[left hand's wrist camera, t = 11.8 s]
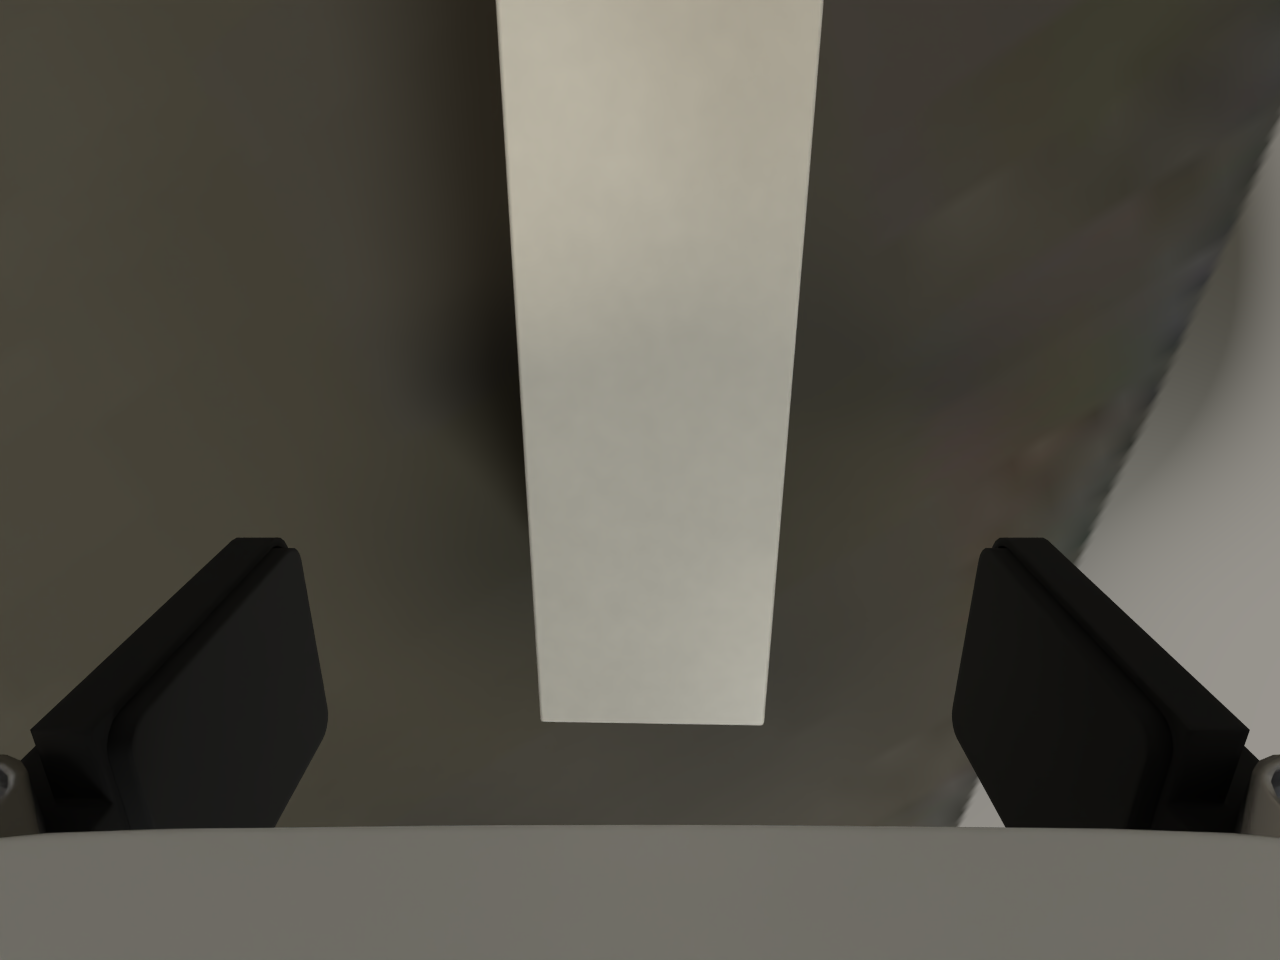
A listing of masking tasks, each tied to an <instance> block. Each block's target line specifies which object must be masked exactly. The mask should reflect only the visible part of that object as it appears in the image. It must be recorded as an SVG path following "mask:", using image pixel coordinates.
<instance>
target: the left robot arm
mask: <svg viewBox="0 0 1280 960" xmlns="http://www.w3.org/2000/svg"><path fill="white" fill-rule="evenodd" d="M327 722H328V709H327V703H326V697H325V691H324V686H323V680H322V675H321V669H320V663H319V658H318V652H317V646H316V641H315V635H314V629H313V624H312V618H311V613H310V607H309V601H308V596H307V590H306V584H305V579H304V573H303V567H302V562H301V558H300V554H299V552H298V551H297V550H296V549H295V548H288V547H287V545H286V543H285V541H284V540H282V539H281V538H236V539H234V540H232V541H231V542H230V543H229V544H228V545H227V546H226V547H225V548H224V549H222V550H221V551H220V552H219V553H218V554H217V555H216V556H215V557H214V558H213V559H212V560H211V561H210V562H209V563H208V564H206V565H205V566H204V567H203V568H202V569H201V570H200V571H199V572H198V573H197V574H196V575H195V576H194V577H193V578H192V579H191V580H189V581H188V582H187V583H186V584H185V585H184V586H183V587H182V588H181V589H180V590H179V591H178V592H177V593H176V594H175V595H173V596H172V597H171V598H170V599H169V600H168V601H167V602H166V603H165V604H164V605H163V606H162V607H161V608H160V609H159V610H157V611H156V612H155V613H154V614H153V615H152V616H151V617H150V618H149V619H148V620H147V621H146V622H145V623H144V624H143V625H141V626H140V627H139V628H138V629H137V630H136V631H135V632H134V633H133V634H132V635H131V636H130V637H129V638H128V639H127V640H126V641H124V642H123V643H122V644H121V645H120V646H119V647H118V648H117V649H116V650H115V651H114V652H113V653H112V654H111V655H110V656H108V657H107V658H106V659H105V660H104V661H103V662H102V663H101V664H100V665H99V666H98V667H97V668H96V669H95V670H94V671H92V672H91V673H90V674H89V675H88V676H87V677H86V678H85V679H84V680H83V681H82V682H81V683H80V684H79V685H78V686H76V687H75V688H74V689H73V690H72V691H71V692H70V693H69V694H68V695H67V696H66V697H65V698H64V699H63V700H62V701H61V702H59V703H58V704H57V705H56V706H55V707H54V708H53V709H52V710H51V711H50V712H49V713H48V714H47V715H46V716H45V717H43V718H42V719H41V720H40V721H39V722H38V723H37V724H36V725H35V726H34V727H33V728H32V729H31V730H30V731H31V733H32V736H33V739H34V742H35V745H36V746H35V747H34V748H33V749H32V750H31V751H30V752H29V753H28V754H27V755H26V756H25V757H24V758H23V759H22V760H21V761H20V760H18V759H15V758H13V757H11V756H8V755H0V960H1280V755H1272V756H1269V757H1267V758H1265V759H1262V760H1260V761H1259V760H1258V759H1257V758H1256V757H1255V756H1254V755H1253V754H1252V753H1251V752H1250V751H1249V750H1248V749H1247V748H1246V747H1245V746H1244V745H1245V742H1246V739H1247V736H1248V733H1249V729H1248V728H1247V727H1246V726H1245V725H1244V724H1243V723H1242V722H1241V721H1240V720H1239V719H1238V718H1237V717H1235V716H1234V715H1233V714H1232V713H1231V712H1230V711H1229V710H1228V709H1227V708H1226V707H1225V706H1224V705H1223V704H1222V703H1221V702H1219V701H1218V700H1217V699H1216V698H1215V697H1214V696H1213V695H1212V694H1211V693H1210V692H1209V691H1208V690H1207V689H1206V688H1205V687H1204V686H1202V685H1201V684H1200V683H1199V682H1198V681H1197V680H1196V679H1195V678H1194V677H1193V676H1192V675H1191V674H1190V673H1189V672H1187V671H1186V670H1185V669H1184V668H1183V667H1182V666H1181V665H1180V664H1179V663H1178V662H1177V661H1176V660H1175V659H1174V658H1173V657H1172V656H1170V655H1169V654H1168V653H1167V652H1166V651H1165V650H1164V649H1163V648H1162V647H1161V646H1160V645H1159V644H1158V643H1157V642H1156V641H1154V640H1153V639H1152V638H1151V637H1150V636H1149V635H1148V634H1147V633H1146V632H1145V631H1144V630H1143V629H1142V628H1141V627H1140V626H1139V625H1137V624H1136V623H1135V622H1134V621H1133V620H1132V619H1131V618H1130V617H1129V616H1128V615H1127V614H1126V613H1125V612H1124V611H1122V610H1121V609H1120V608H1119V607H1118V606H1117V605H1116V604H1115V603H1114V602H1113V601H1112V600H1111V599H1110V598H1109V597H1108V596H1107V595H1105V594H1104V593H1103V592H1102V591H1101V590H1100V589H1099V588H1098V587H1097V586H1096V585H1095V584H1094V583H1093V582H1092V581H1091V580H1089V579H1088V578H1087V577H1086V576H1085V575H1084V574H1083V573H1082V572H1081V571H1080V570H1079V569H1078V568H1077V567H1076V566H1075V565H1073V564H1072V563H1071V562H1070V561H1069V560H1068V559H1067V558H1066V557H1065V556H1064V555H1063V554H1062V553H1061V552H1060V551H1059V550H1058V549H1056V548H1055V547H1054V546H1053V545H1052V544H1051V543H1050V542H1049V541H1048V540H1046V539H1044V538H999V539H998V540H996V541H995V543H994V545H993V547H992V548H985V549H984V550H983V551H982V552H981V554H980V558H979V562H978V567H977V573H976V579H975V584H974V590H973V596H972V601H971V607H970V612H969V618H968V624H967V629H966V635H965V641H964V646H963V652H962V658H961V663H960V669H959V675H958V680H957V686H956V691H955V697H954V703H953V709H952V722H953V728H954V732H955V735H956V737H957V739H958V741H959V743H960V745H961V747H962V748H963V750H964V752H965V754H966V756H967V758H968V759H969V761H970V763H971V765H972V767H973V769H974V770H975V772H976V774H977V776H978V778H979V780H980V781H981V783H982V785H983V787H984V789H985V790H986V792H987V794H988V796H989V798H990V800H991V802H992V803H993V805H994V807H995V809H996V811H997V813H998V814H999V816H1000V818H1001V820H1002V822H1003V824H1004V825H1005V827H1006V828H994V827H883V826H772V825H474V826H386V827H298V828H274V827H275V825H276V824H277V822H278V820H279V818H280V816H281V814H282V813H283V811H284V809H285V807H286V805H287V803H288V802H289V800H290V798H291V796H292V794H293V792H294V791H295V789H296V787H297V785H298V783H299V781H300V780H301V778H302V776H303V774H304V772H305V770H306V769H307V767H308V765H309V763H310V761H311V759H312V758H313V756H314V754H315V752H316V750H317V748H318V747H319V745H320V743H321V741H322V739H323V737H324V735H325V732H326V728H327Z"/></svg>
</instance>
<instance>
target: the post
mask: <svg viewBox="0 0 1280 960" xmlns="http://www.w3.org/2000/svg"><path fill="white" fill-rule="evenodd" d="M823 2H824V0H496V15H497V31H498V47H499V63H500V79H501V95H502V111H503V127H504V143H505V159H506V175H507V191H508V207H509V223H510V239H511V255H512V271H513V287H514V303H515V319H516V335H517V351H518V367H519V383H520V399H521V415H522V431H523V447H524V463H525V479H526V495H527V511H528V527H529V543H530V559H531V575H532V592H533V608H534V624H535V640H536V656H537V672H538V688H539V704H540V718H541V720H542V721H546V722H604V723H662V724H720V725H763V723H764V716H765V704H766V692H767V680H768V668H769V656H770V643H771V631H772V619H773V607H774V595H775V583H776V571H777V559H778V547H779V534H780V522H781V510H782V498H783V486H784V474H785V462H786V450H787V438H788V425H789V413H790V401H791V389H792V377H793V365H794V353H795V341H796V329H797V316H798V304H799V292H800V280H801V268H802V256H803V244H804V232H805V220H806V208H807V195H808V183H809V171H810V159H811V147H812V135H813V123H814V111H815V99H816V86H817V74H818V62H819V50H820V38H821V26H822V14H823Z"/></svg>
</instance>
